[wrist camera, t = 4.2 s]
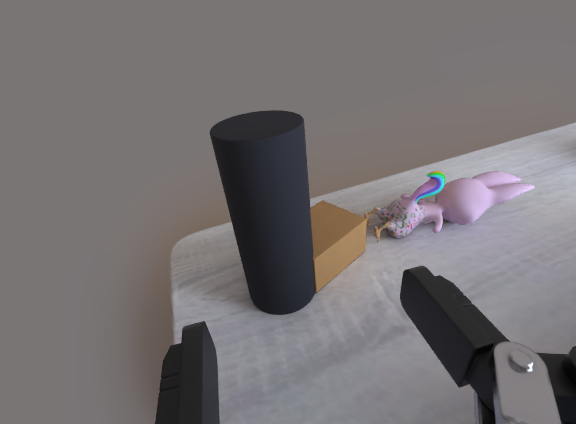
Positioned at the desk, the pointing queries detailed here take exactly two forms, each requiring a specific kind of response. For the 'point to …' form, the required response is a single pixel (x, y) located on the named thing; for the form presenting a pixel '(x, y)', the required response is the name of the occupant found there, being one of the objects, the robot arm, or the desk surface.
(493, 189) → the rabbit figure
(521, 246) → the desk surface
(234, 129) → the cylinder with tan block
